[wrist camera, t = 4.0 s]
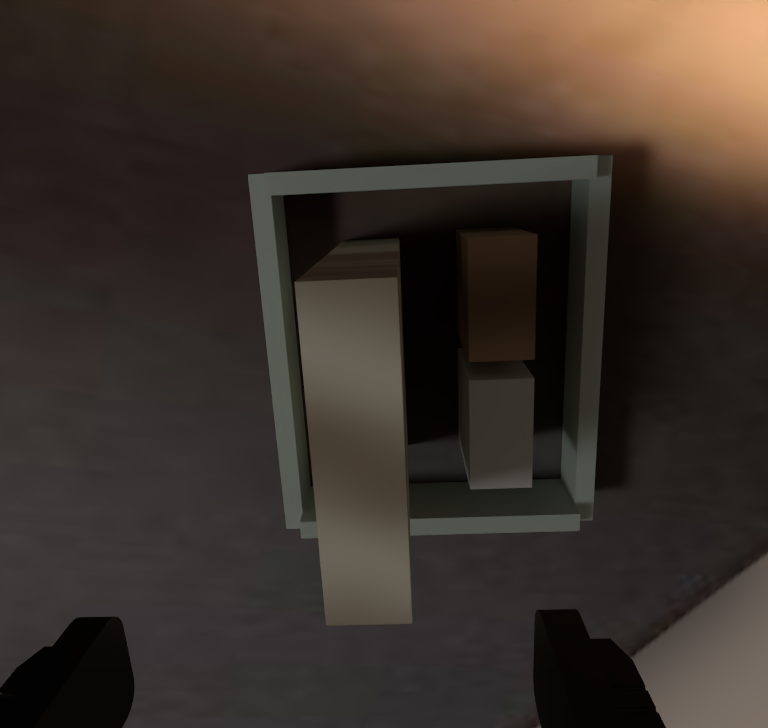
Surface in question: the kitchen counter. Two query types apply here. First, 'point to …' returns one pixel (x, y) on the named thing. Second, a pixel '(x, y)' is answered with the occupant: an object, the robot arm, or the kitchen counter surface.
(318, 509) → the birch sheet
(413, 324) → the kitchen counter surface
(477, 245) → the walnut offcut
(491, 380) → the grey offcut
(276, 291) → the bin
